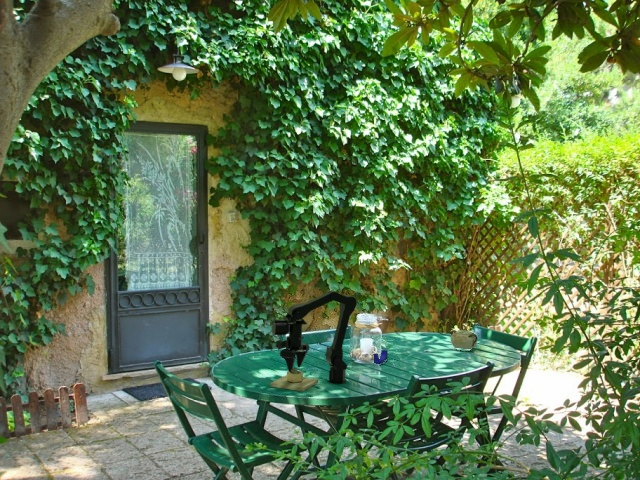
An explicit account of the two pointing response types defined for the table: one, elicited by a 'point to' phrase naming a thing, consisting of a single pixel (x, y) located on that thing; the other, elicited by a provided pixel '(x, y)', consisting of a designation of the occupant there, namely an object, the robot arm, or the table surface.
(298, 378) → the ring
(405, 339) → the table surface
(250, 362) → the table surface
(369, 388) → the table surface
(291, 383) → the stand
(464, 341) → the sugar bowl
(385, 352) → the cable clip
